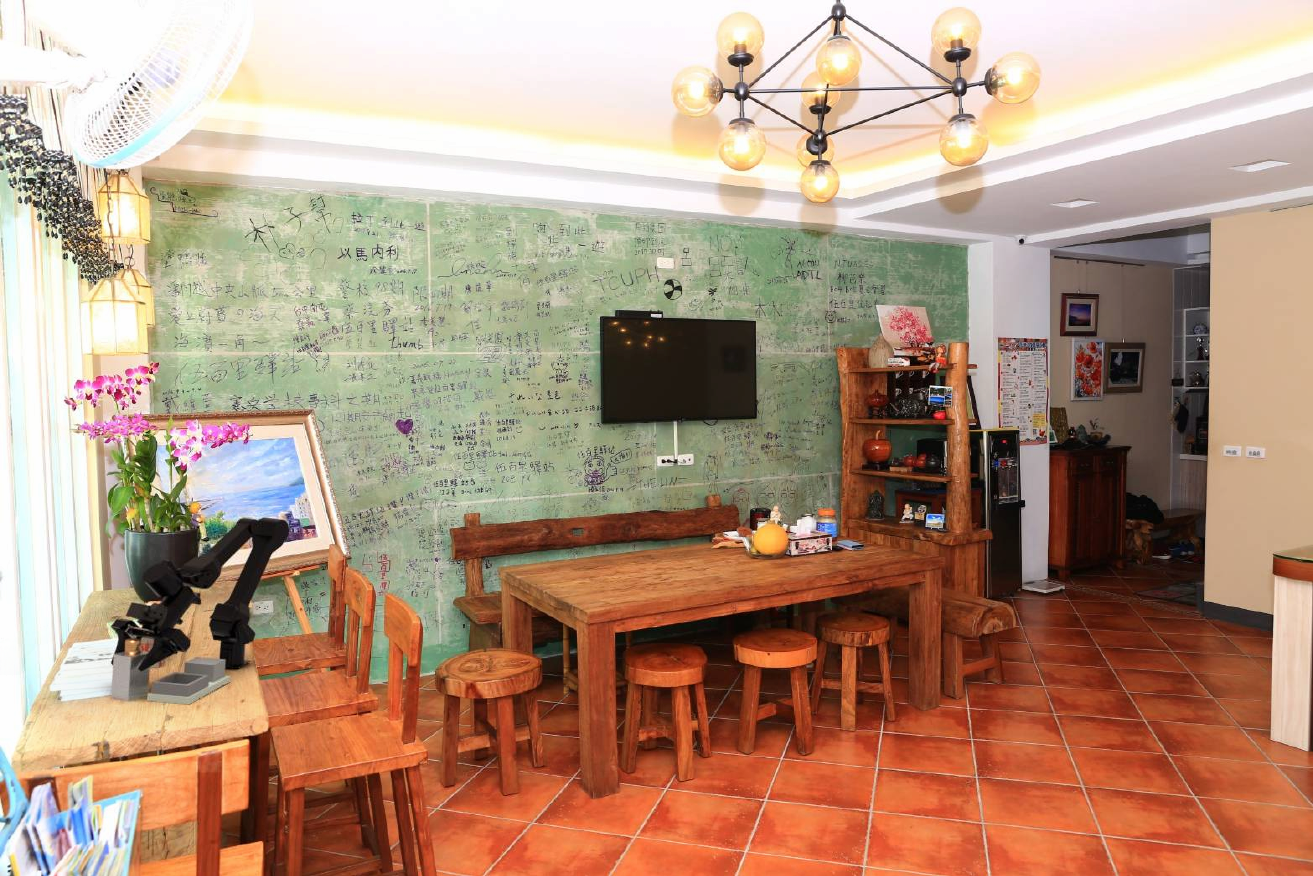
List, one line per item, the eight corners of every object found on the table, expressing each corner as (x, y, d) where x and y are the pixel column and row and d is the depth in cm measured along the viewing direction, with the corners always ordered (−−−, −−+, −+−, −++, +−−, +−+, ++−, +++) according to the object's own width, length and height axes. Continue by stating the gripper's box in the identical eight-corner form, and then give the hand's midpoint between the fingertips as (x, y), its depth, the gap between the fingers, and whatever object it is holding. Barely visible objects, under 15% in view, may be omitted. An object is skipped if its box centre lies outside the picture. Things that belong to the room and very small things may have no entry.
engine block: (131, 691, 200) (134, 636, 200) (147, 695, 198) (151, 639, 198) (111, 697, 195) (114, 640, 195) (128, 701, 193) (131, 644, 193)
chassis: (191, 679, 211) (193, 656, 211) (230, 682, 211) (231, 659, 211) (147, 700, 194) (148, 675, 194) (188, 704, 194) (190, 679, 194)
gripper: (121, 583, 203) (72, 641, 193) (183, 593, 197) (136, 654, 187) (148, 611, 211) (102, 668, 200) (209, 622, 205) (166, 682, 194)
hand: (126, 667), depth 195 cm, fingers open, 8 cm apart
